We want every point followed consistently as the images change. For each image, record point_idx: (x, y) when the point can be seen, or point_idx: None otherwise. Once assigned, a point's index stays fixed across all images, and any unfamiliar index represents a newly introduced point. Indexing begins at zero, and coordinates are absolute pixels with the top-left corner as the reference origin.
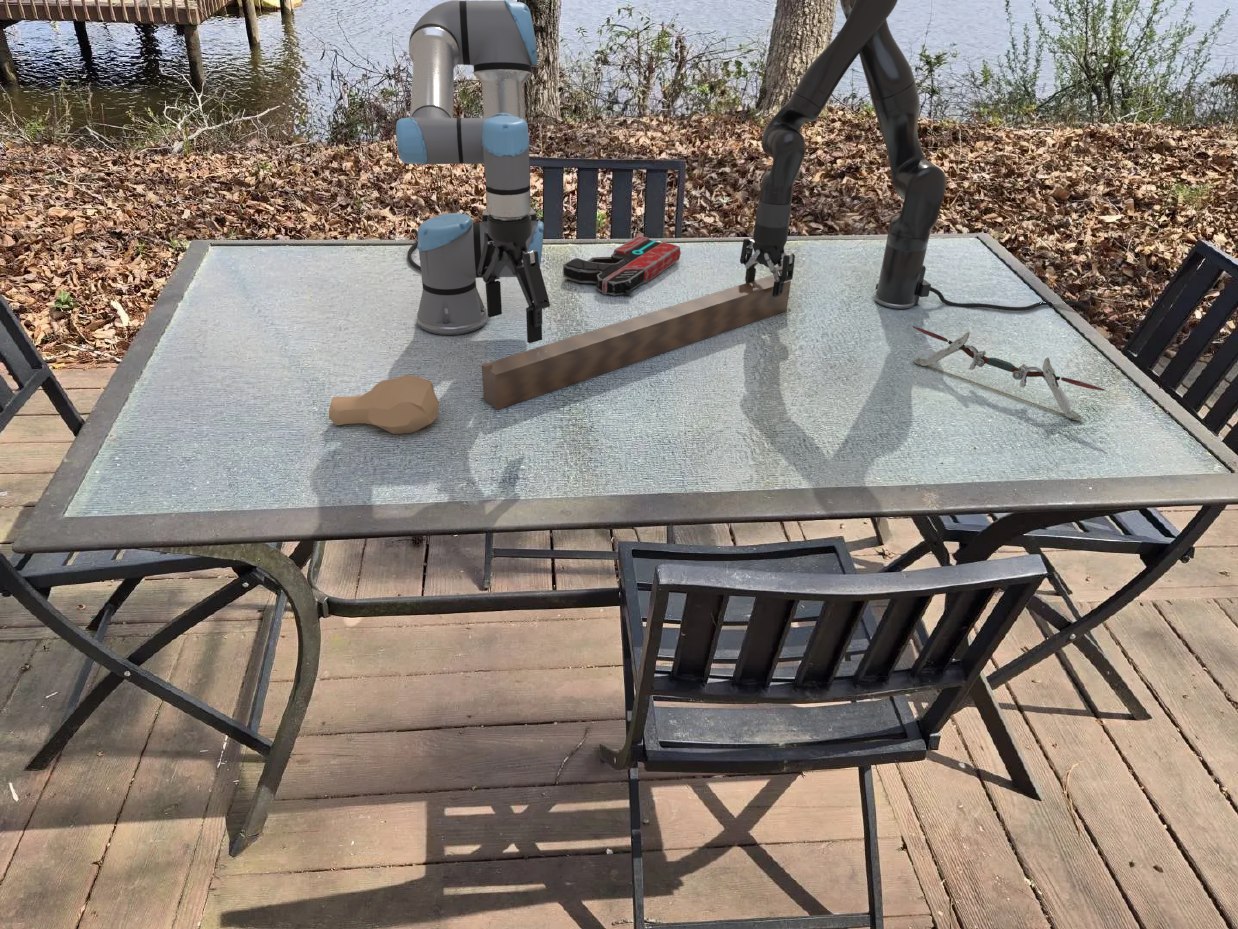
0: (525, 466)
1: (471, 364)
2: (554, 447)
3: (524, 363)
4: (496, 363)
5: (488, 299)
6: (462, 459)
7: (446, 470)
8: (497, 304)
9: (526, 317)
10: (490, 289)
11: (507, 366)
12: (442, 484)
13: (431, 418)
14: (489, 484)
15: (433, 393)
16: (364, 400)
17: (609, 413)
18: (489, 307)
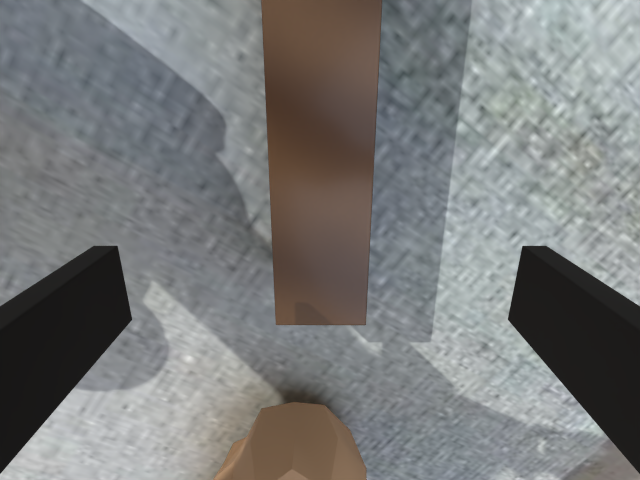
0: None
1: (81, 196)
2: (587, 253)
3: (356, 206)
4: (297, 284)
5: (64, 397)
6: (473, 413)
7: (482, 446)
8: (84, 305)
9: (608, 435)
10: (1, 444)
11: (339, 266)
12: (513, 466)
13: (348, 437)
14: (579, 414)
15: (335, 470)
16: None
17: (588, 16)
18: (99, 354)
